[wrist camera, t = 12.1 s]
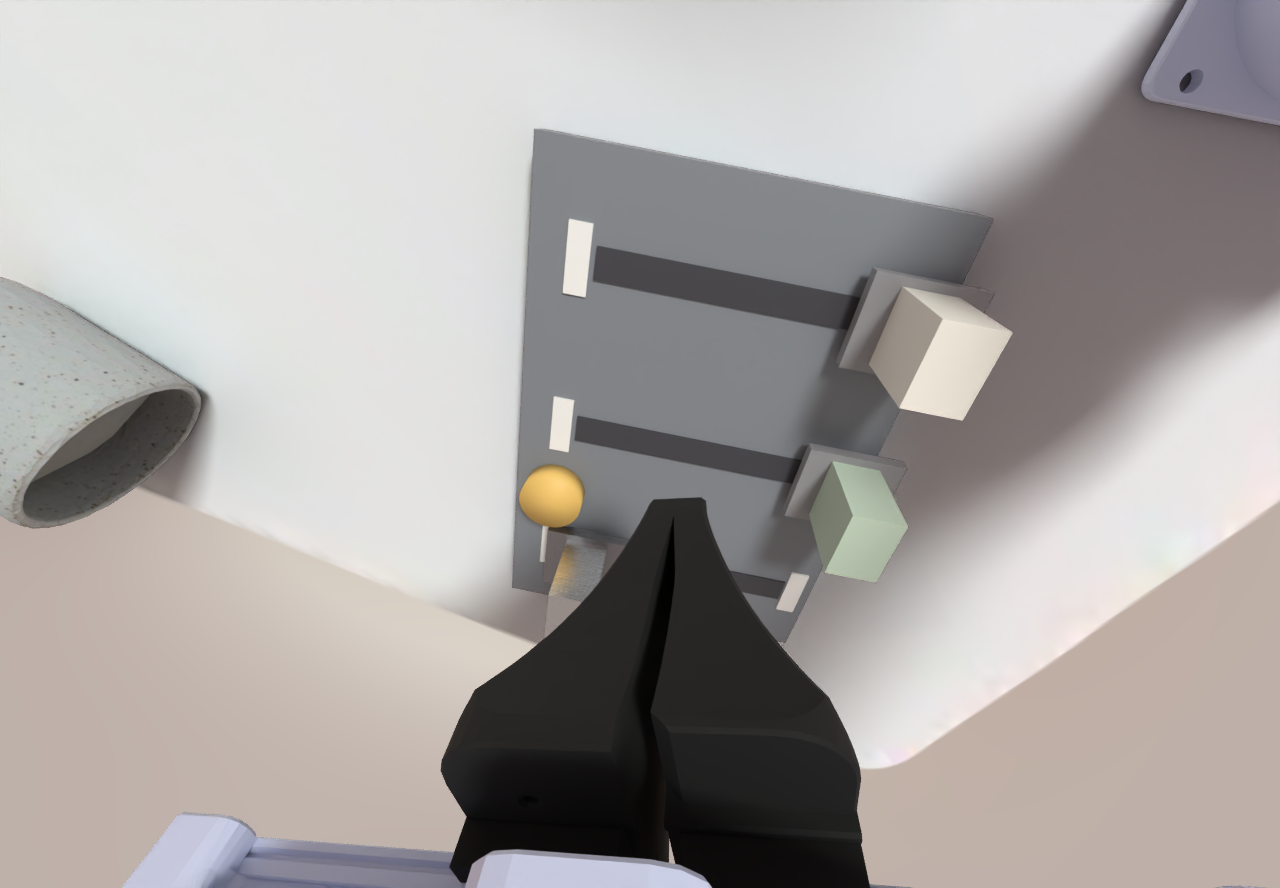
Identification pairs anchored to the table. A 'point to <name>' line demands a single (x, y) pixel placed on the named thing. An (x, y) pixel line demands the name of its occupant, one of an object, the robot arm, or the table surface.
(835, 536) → the pale mint cube
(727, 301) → the panel
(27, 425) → the ceramic mug
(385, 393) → the table surface
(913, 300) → the paddle cream
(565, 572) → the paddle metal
